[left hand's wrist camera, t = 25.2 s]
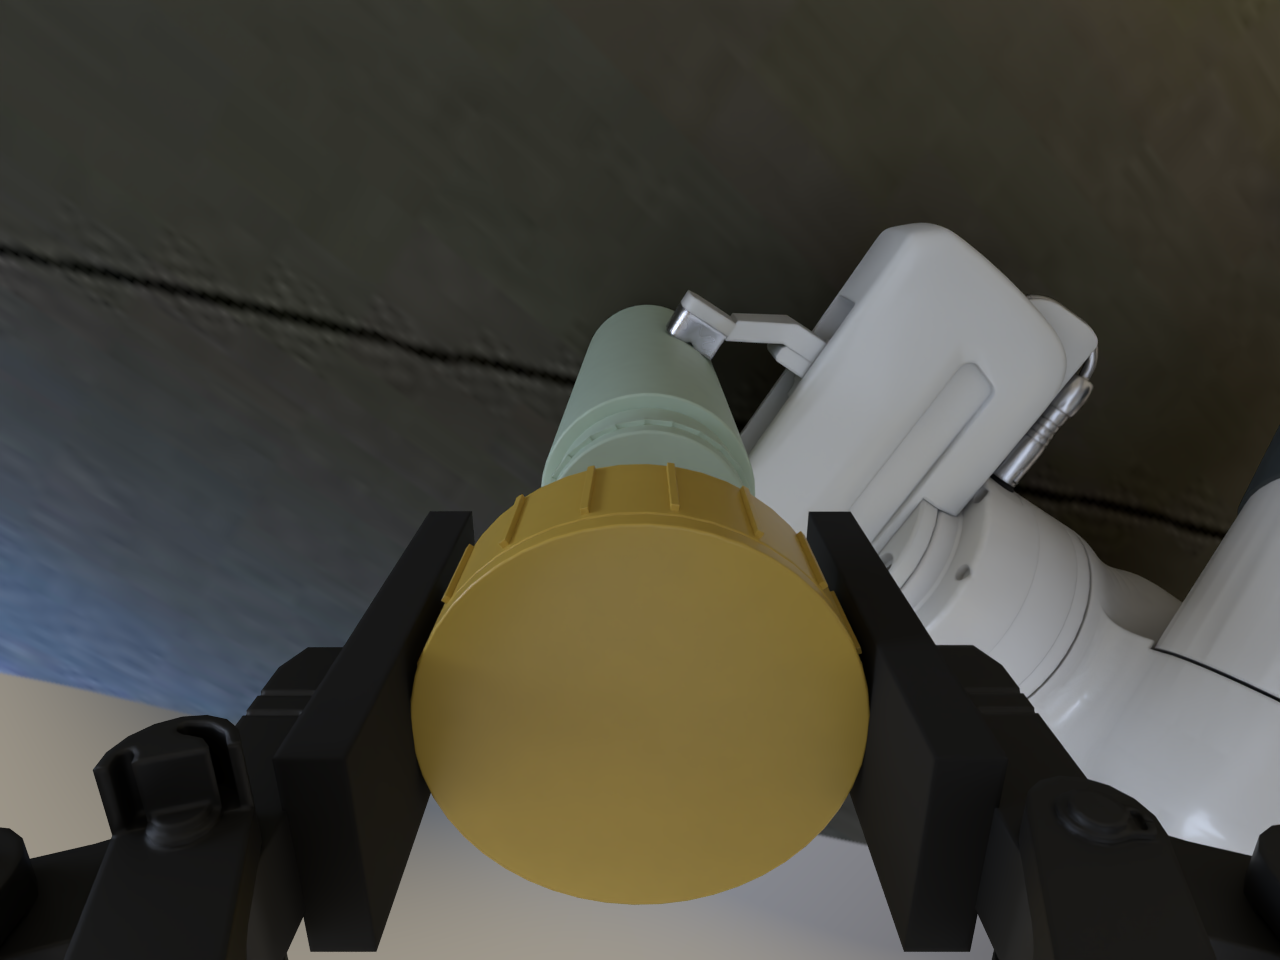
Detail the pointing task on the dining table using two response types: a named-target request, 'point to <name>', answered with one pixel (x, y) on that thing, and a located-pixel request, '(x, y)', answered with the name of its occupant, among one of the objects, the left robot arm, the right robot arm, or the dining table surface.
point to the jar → (647, 405)
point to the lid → (640, 689)
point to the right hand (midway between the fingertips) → (625, 390)
